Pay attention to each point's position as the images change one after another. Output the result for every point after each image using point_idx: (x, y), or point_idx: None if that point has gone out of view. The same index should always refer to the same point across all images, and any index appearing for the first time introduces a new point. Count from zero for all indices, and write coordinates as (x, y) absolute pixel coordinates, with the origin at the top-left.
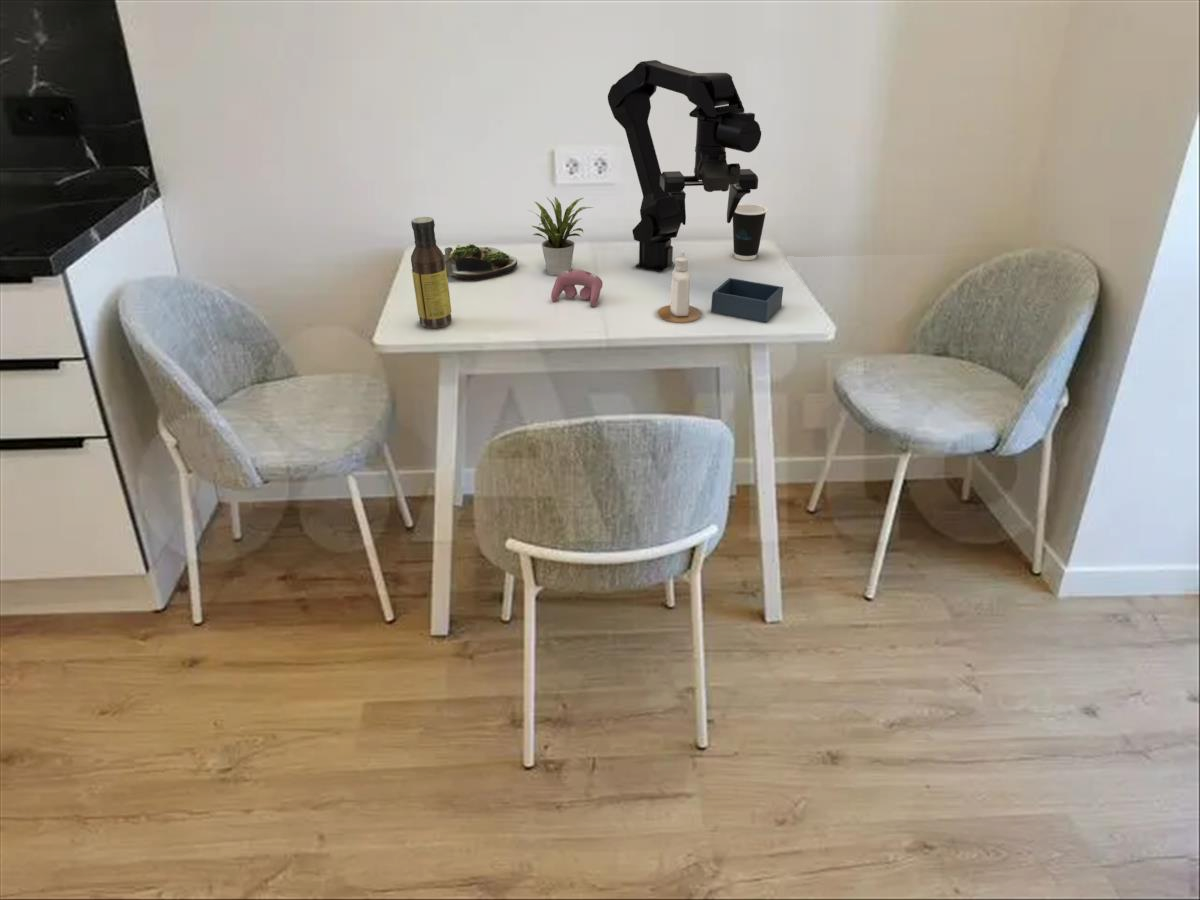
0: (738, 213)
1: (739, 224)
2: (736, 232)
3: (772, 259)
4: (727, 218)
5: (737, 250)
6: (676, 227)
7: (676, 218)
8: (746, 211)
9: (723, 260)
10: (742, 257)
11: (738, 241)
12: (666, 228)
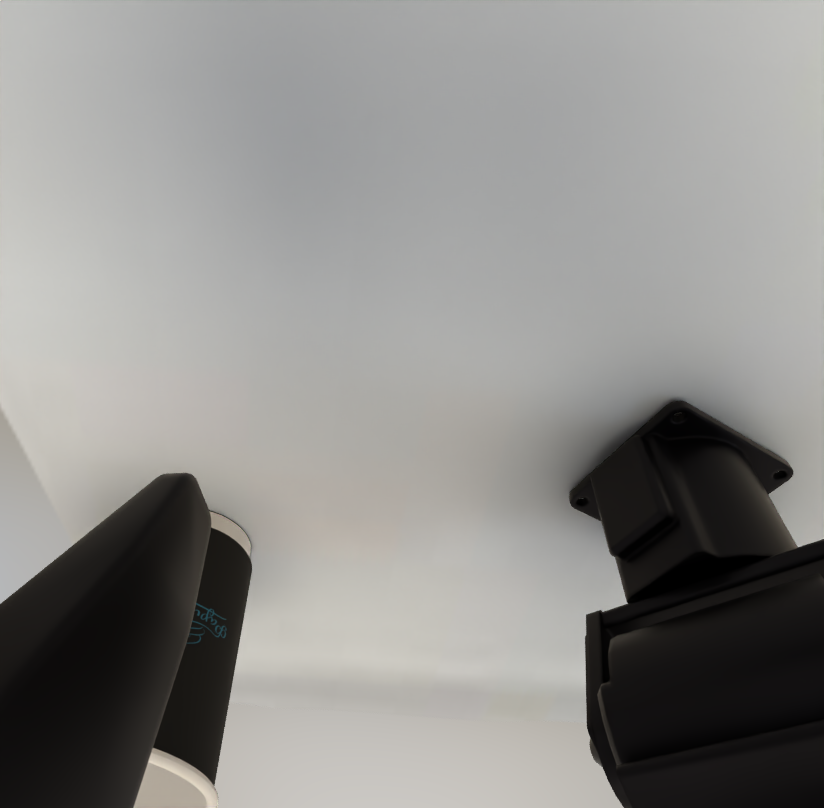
0: (167, 754)
1: (181, 681)
2: (214, 642)
3: (72, 507)
4: (189, 551)
5: (230, 556)
6: (644, 647)
7: (670, 718)
8: (142, 782)
9: (307, 514)
10: (212, 521)
11: (213, 592)
12: (761, 625)
